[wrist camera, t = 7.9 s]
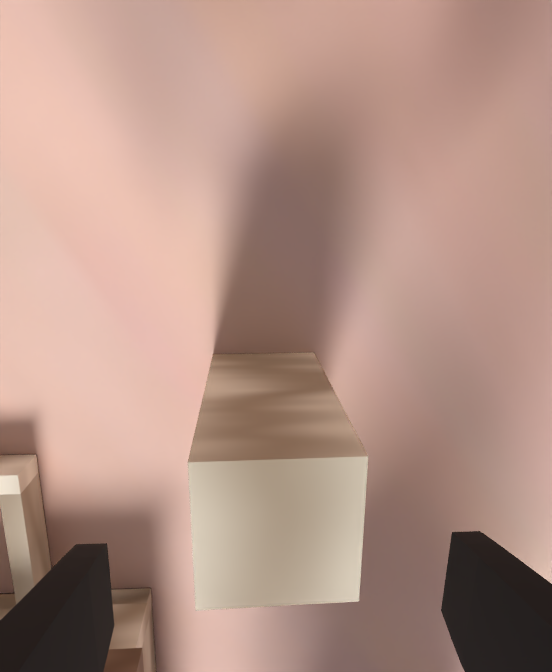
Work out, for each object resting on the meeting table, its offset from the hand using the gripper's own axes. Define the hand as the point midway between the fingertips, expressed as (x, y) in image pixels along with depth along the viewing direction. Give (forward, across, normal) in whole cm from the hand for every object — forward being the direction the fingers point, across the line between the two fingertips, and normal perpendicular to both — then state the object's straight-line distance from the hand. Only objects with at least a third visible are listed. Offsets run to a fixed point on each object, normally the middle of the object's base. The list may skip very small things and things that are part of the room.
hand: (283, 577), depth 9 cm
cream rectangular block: (+9, 0, 0) cm, 9 cm away
